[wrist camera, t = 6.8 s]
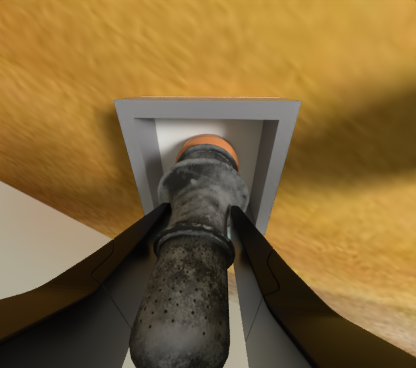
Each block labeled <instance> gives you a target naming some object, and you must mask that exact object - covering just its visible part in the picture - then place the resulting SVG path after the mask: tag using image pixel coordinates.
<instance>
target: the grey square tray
mask: <svg viewBox="0 0 416 368" xmlns="http://www.w3.org/2000/svg"><path fill="white" fill-rule="evenodd" d="M301 102H302V101H297V100H291V99H285V98H279V97H189V96H141V97H133V98H124V99H115V100H114V104H115V108H116V111H117V115H118V119H119V122H120V126H121V130H122V133H123V137H124V141H125V144H126V148H127V152H128V155H129V159H130V163H131V167H132V170H133V174H134V178H135V181H136V185H137V189H138V192H139V196H140V200H141V203H142V207H143V211H144V214H145V215H147V214H148V213H149V212H151V211H152V210H154V209H155V208H156V207H158V206H159V205H160V204H159V201H158V192H157V189H158V185H159V182H160V179H161V177H162V176H163V175H164V173H165V172H166V170H167V169H169V168H170V167H171V166H173V165H174V164H175V162H176V158H177V155H178V153H179V151H180V150H181V148H182V147H183V145H184V144H185V143H186V142H187V141H188V140H189V139H191V138H192V137H194V136H197V135H200V134H214V135H218V136H221V137H222V138H224V139H226V140H227V141H228V142H229V143H230V144H231V145H232V146H233V147H234V149H235V151H236V153H237V157H238V161H239V174H240V176H241V177H242V178H243V180H244V181H245V183H246V186H247V189H248V192H249V203H248V205H247V208H246V211H245V214H246V216H247V217H248V218H249V219H250V220H251V222H252V223H253V224H254V225H255V227H256V228H257V229H258V230H259V231H260V233H261V234H262V235H265V232H266V229H267V225H268V221H269V218H270V214H271V210H272V207H273V203H274V200H275V196H276V192H277V189H278V185H279V181H280V178H281V174H282V171H283V167H284V163H285V160H286V156H287V152H288V149H289V145H290V142H291V138H292V134H293V131H294V127H295V123H296V120H297V116H298V112H299V109H300V105H301ZM227 233H230V227H228V228H227Z"/></svg>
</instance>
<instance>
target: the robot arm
mask: <svg viewBox="0 0 416 368" xmlns="http://www.w3.org/2000/svg"><path fill="white" fill-rule="evenodd" d="M171 216H172V208H171V204H170V203H169V202H163V203H162V204H160V205H159V206H158V207H156V208H155V209H154V210H152V211H151V212H149V213H148V214H147V215H145V216H144V217H143V218H141V219H140V220H139V221H137V222H136V223H134V224H133V225H132V226H130V227H129V228H128V229H126V230H125V231H124V232H122V233H121V234H119V235H118V236H117V237H115V238H114V240H111V241H110V242H109V243H107V244H106V245H104V246H103V247H102V248H100V249H99V250H97V251H96V252H94V253H93V254H91V255H90V256H88V257H87V258H85V259H84V260H82V261H81V262H79V263H77V264H76V265H74V266H73V267H71V268H70V269H68V270H66V271H65V272H63V273H62V274H60V275H59V276H57V277H56V278H54V279H52V280H51V281H49V282H47V283H46V284H44V285H42V286H40V287H38V288H36V289H33V290H31V291H28V292H25V293H23V294H19V295H15V296H12V297H8V298H4V299H1V300H0V368H122V365H123V363H124V360H125V357H126V354H127V351H128V348H129V339H130V334H131V329H132V326H133V323H134V320H135V318H136V315H137V312H138V310H139V307H140V304H141V301H142V299H143V296H144V293H145V291H146V288H147V285H148V282H149V280H150V277H151V274H152V272H153V269H154V266H155V263H156V261H157V257H156V255H155V253H154V251H153V243H154V240H155V238H156V236H157V235H158V234H159V233H160V231H161V230H163V229H165V228H167V226H168V224H169V221H170V219H171ZM230 240H231V241H232V243H233V245H234V247H235V255H236V257H235V260H234V262H233V264H234V271H235V277H236V284H237V291H238V297H239V304H240V311H241V317H242V324H243V331H244V337H245V342H246V350H247V357H248V364H249V368H416V357H415V356H413V355H411V354H409V353H407V352H405V351H404V350H402V349H400V348H398V347H396V346H394V345H393V344H391V343H389V342H387V341H385V340H383V339H382V338H380V337H378V336H376V335H374V334H372V333H371V332H369V331H367V330H365V329H363V328H361V327H360V326H358V325H356V324H354V323H352V322H350V321H349V320H347V319H345V318H343V317H342V316H340V315H339V314H338V313H336V312H335V311H334V310H332V309H331V308H330V307H329V306H328V305H327V304H326V303H325V302H324V301H323V300H322V299H321V298H320V297H319V296H318V295H317V294H316V293H315V292H314V291H313V290H312V289H311V288H310V287H309V286H308V285H307V284H306V283H305V282H304V281H303V280H302V279H301V278H300V277H299V276H298V275H297V274H296V273H295V272H294V271H293V270H292V269H291V268H290V267H289V266H288V265H287V264H286V262H285V261H284V260H283V259H282V258H281V257H280V256H279V254H278V253H277V252H276V251H275V250H274V249H273V247H272V246H271V245H270V244H269V242H268V241H267V240H266V239H265V237H264V236H263V235H262V234H261V233H260V231H259V230H258V229H257V228H256V227H255V225H254V224H253V223H252V222H251V220H250V219H249V218H248V217H247V216H246V214H245V213H244V212H243V211H242V210H241V208H240V207H239V206H236V205H232V206H231V210H230Z"/></svg>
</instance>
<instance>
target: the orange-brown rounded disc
mask: <svg viewBox="0 0 416 368" xmlns="http://www.w3.org/2000/svg"><path fill="white" fill-rule="evenodd" d="M198 144H212V145H217V146H219V147H221V148H224V149H225V150H226V151H227V152H229V153H230V154H231V155H232V157H233V158H234V159H235V161H236V164H237V167H238V173H239V161H238V157H237V153H236V151H235V149H234V147H233V146H232V145H231V144H230V143H229V142H228V141H227V140H226V139H224V138H222V137H221V136H218V135H214V134H200V135H197V136H194V137H192V138H191V139H189V140H188V141H187V142H186V143H185V144H184V145H183V147H182V148H181V150H180V151H179V153H178V155H177V158H176V162H175V163H177V160H178V158H179V157H180V156H181V154H182V153H183V152H184V151H186V150H187V149H188V148H190V147H192V146H195V145H198Z"/></svg>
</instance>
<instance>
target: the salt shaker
mask: <svg viewBox="0 0 416 368" xmlns="http://www.w3.org/2000/svg"><path fill="white" fill-rule="evenodd" d="M157 192H158V201H159V204H162V203H163V202H169V203H170V204H171V208H172V216H171V219H170V221H169V224H168V226H167V228H165V229H163V230H161V231H160V233H159V234H158V235H157V236H156V238H155V240H154V243H153V251H154V253H155V255H156V257H157V261H156V263H155V266H154V269H153V272H152V274H151V277H150V280H149V282H148V285H147V288H146V291H145V293H144V296H143V299H142V301H141V304H140V307H139V310H138V312H137V315H136V318H135V320H134V323H133V326H132V329H131V334H130V339H129V348H130V354H131V359H132V361H133V363H134V365H135V367H136V368H223V366H224V364H225V362H226V360H227V358H228V355H229V346H230V329H229V303H228V275H227V269H228V268H229V267H230V266H231V265H232V264H233V262H234V260H235V257H236V255H235V247H234V245H233V243H232V241H231V240H230V239H229V238H228V235H227V228H228V227H230V210H231V206H232V205H236V206H239V207H240V208H241V210H242V211H243V212H244V213H245V211H246V208H247V205H248V203H249V192H248V189H247V186H246V183H245V181H244V180H243V178H242V177H241V176H240V174H239V173H238V167H237V164H236V161H235V159H234V158H233V157H232V155H231V154H230V153H229V152H227V151H226V150H225V149H224V148H221V147H219V146H217V145H212V144H198V145H195V146H192V147H190V148H188V149H187V150H186V151H184V152H183V153H182V154H181V156H180V157H179V158H178V160H177V163H175V164H174V165H173V166H171V167H170V168H169V169H167V170H166V172H165V173H164V175H163V176H162V177H161V179H160V182H159V185H158V189H157Z"/></svg>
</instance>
